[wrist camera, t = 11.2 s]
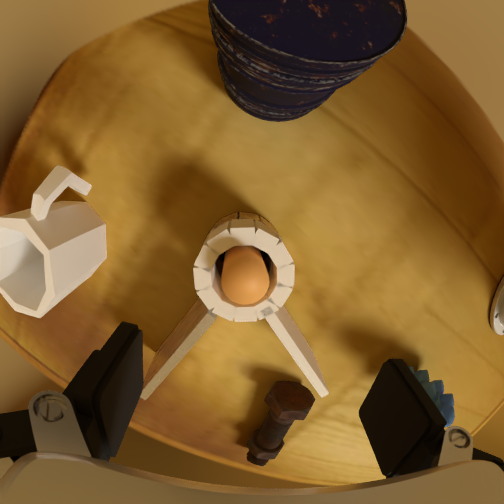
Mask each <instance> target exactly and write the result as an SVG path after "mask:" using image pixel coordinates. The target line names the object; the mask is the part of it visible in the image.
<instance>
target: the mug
mask: <svg viewBox="0 0 504 504" xmlns="http://www.w3.org/2000/svg"><path fill="white" fill-rule="evenodd" d="M68 186H69V187H70V188H72V189H74V190H75V191H77V192H79V193H81V194H83V195H85V196H87V194H88V193H89V191H90V189H91V187H92V185H90V184H89V183H87V182H86V181H84V180H83V179H81V178H79V177H78V176H76V175H75V174H73V173H72V172H71V171H69V170H68V169H67V168H65V167H62V166H58V165H57V166H56V167H55V168H54V169H53V170H52V171H51V173H50V174H49V175H48V176H47V177H46V179H45V180H44V181H43V182H42V183H41V185H40V186H39V187H38V189H37V190H36V191H35V192H34V194H33V199H32V205H31V208H30V209H26V210H22V211H19V212H15V213H12V214H8V215H5V216H1V217H0V293H1V294H2V295H3V297H4V298H5V299H6V300H7V302H8V303H9V304H10V305H11V306H12V308H13V309H14V310H15V311H17V312H20V313H24V314H27V315H30V316H34V317H37V318H41V317H42V316H43V315H44V314H45V313H47V312H48V311H49V310H50V309H51V308H52V307H54V306H55V305H56V304H57V303H58V302H60V301H61V300H62V299H63V298H64V297H66V296H67V295H68V294H69V293H70V292H72V291H73V290H74V289H75V288H77V287H78V286H79V285H80V284H81V283H83V282H84V281H85V280H86V279H88V278H89V277H90V276H91V275H92V274H93V273H94V272H95V270H96V269H97V268H98V267H99V266H100V265H101V263H102V262H103V261H104V260H105V259H106V258H107V250H106V224H105V222H104V221H103V220H102V219H101V218H100V217H99V216H98V214H97V213H96V212H95V211H94V210H93V209H92V207H91V206H90V205H89V204H88V203H87V202H81V201H58V202H54V203H52V202H53V201H54V200H55V199H56V198H57V197H58V196H59V195H60V194H61V193H62V192H63V191H64V190H65V189H66V188H67V187H68Z"/></svg>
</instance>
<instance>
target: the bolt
mask: <svg viewBox="0 0 504 504" xmlns="http://www.w3.org/2000/svg"><path fill="white" fill-rule="evenodd" d="M264 401H265V402H266V403H267V404H268V406H269V407H270V411H269V413H268V416H267V418H266V419H265V421H264V423H263V425H262V427H261V429H259V430H256V431H255V432H254V434H253V435H252V436H251V438H250V439H249V441H248V443H247V446H248V448H249V452H248V453H247V455H248V456H247V460H248V461H249V462H251V463H253V464H256V465H259V466H264V465H265V464H266V463H267V462H268V461H269V459H275V458H276V456H277V455H278V453H279V452H280V450H281V448H282V447H283V445H284V444H285V443H284V441H283V438H284V436H285V435H286V433H287V431H288V429H289V428H290V426H291V425H292V423H293V422H294V420H304V419H305V417H306V416H307V414H308V412H309V411H310V409H311V407H312V405H313V403H314V401H315V398H314V396H313V395H312V393H311V392H310V390H309V389H308V388H306V387H305V386H303V385H301V384H299V383H296V382H290V381H279V382H276V383H275V384H274V386H273V387H272V388H271V389H270V391H269V392H268V394H267V396H266V398H265V400H264Z"/></svg>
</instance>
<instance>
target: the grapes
mask: <svg viewBox="0 0 504 504" xmlns="http://www.w3.org/2000/svg"><path fill="white" fill-rule="evenodd" d="M408 367H409V369H410V370H411V371H412V373H413V374H414V375H415V377H416V378H417V379H418V381H419V382H420V384H421V385H422V386H423V388H424V389H425V391H426V392H427V394H428V395H429V396H430V398H431V399H432V401H433V402H434V404H435V405H436V406H437V408H438V409H439V411H440V412H441V414H442V415H443V417H444V418H445V420H446V421H447V424H446V426H445V427H448V426H450V425H451V424H452V423H453V421H454V417H455V415H454V407H453V406H454V399H453V394H443V393H444V385H443V381H442V380H435V381H432V382H429V374H428V371H427V370H419V371H416V372H414V369H413V366H408Z"/></svg>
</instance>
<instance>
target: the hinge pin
mask: <svg viewBox="0 0 504 504" xmlns="http://www.w3.org/2000/svg"><path fill="white" fill-rule="evenodd" d="M221 285H222V289H223V292H224V293H225V295H226V296H227V297H228V298H229V299H230V300H231V301H233V302H235V303H238V304H252V303H255V302H257V301H259V300H260V299H261V298H263V297H264V295H265V294H266V292H267V290H268V288H269V275H268V273H267V270H266V267H265V264H264V261H263V258H262V255H261V253H260V250H259V249H258V248H256V247H255V246H253V245H247V246H233V247H231V248H230V249H228V250H226V252H225V258H224V265H223V272H222V279H221Z"/></svg>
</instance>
